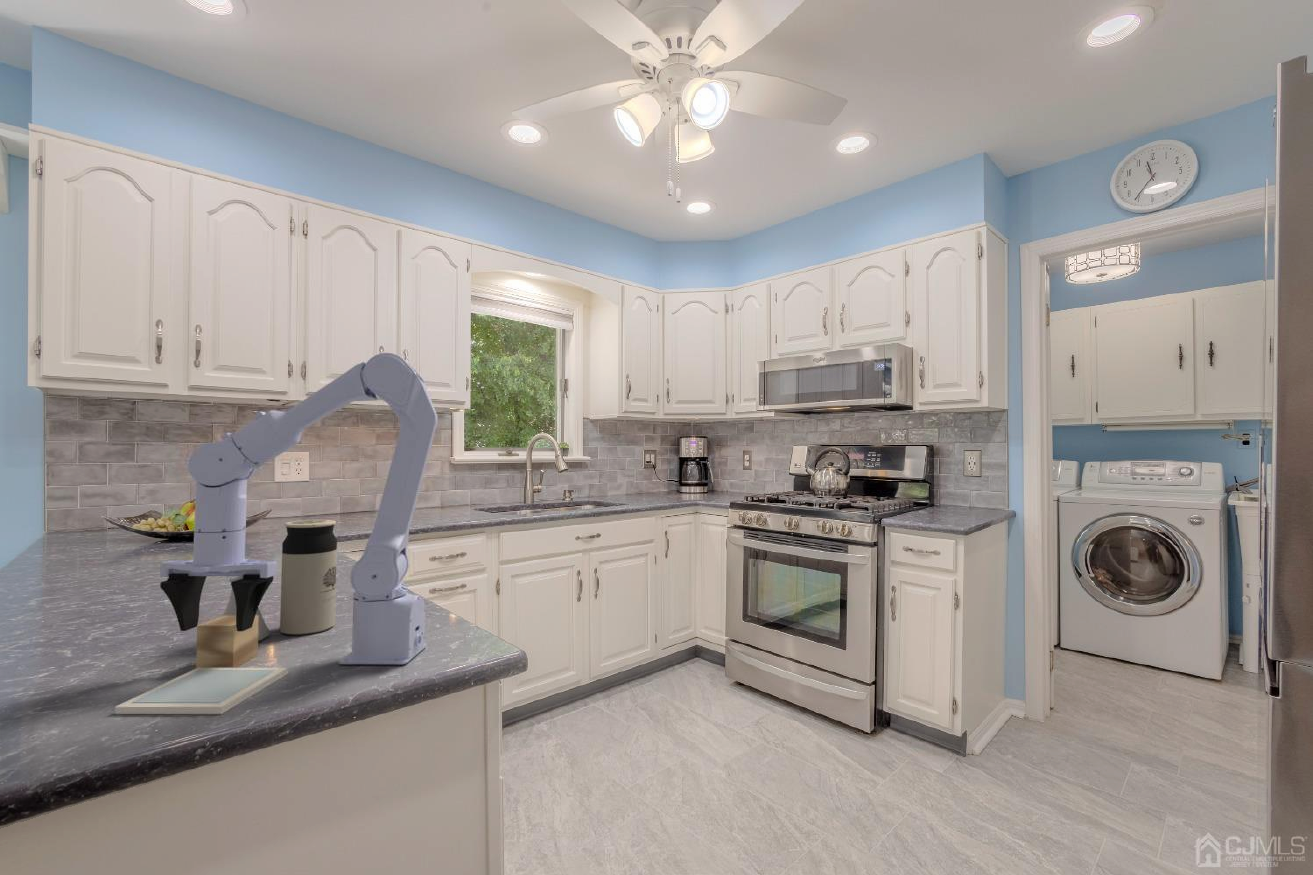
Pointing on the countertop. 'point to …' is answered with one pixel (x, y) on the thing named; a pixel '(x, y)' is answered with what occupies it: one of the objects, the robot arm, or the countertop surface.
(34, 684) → the countertop surface
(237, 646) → the oak block
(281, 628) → the travel mug
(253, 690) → the picture frame
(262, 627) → the flask
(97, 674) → the countertop surface
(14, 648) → the countertop surface
